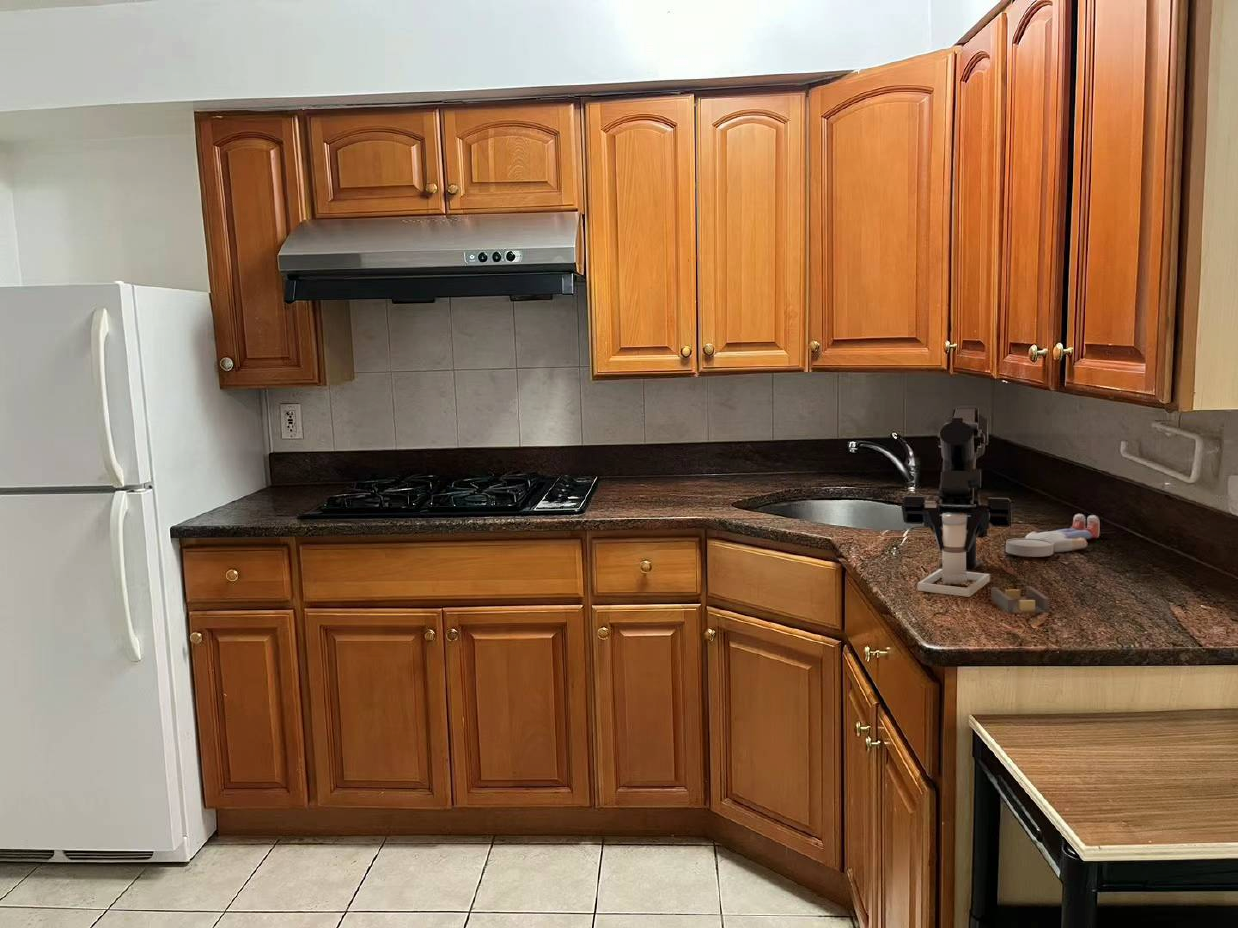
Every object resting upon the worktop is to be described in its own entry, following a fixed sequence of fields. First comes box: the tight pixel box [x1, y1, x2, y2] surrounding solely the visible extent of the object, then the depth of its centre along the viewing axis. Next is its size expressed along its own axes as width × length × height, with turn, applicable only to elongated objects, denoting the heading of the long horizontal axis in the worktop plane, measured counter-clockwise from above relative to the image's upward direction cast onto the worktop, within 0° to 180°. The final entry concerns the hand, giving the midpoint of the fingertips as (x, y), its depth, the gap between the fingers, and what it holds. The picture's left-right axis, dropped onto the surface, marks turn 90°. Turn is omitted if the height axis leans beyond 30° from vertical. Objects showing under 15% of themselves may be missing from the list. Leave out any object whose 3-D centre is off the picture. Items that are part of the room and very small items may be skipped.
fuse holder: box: [988, 585, 1053, 614], centre depth 160 cm, size 9×7×3 cm
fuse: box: [941, 512, 968, 584], centre depth 172 cm, size 4×4×12 cm
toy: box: [1005, 513, 1101, 558], centre depth 205 cm, size 6×13×30 cm
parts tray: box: [916, 568, 991, 598], centre depth 173 cm, size 12×9×2 cm
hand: (953, 550), depth 171 cm, fingers closed on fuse, 4 cm apart
